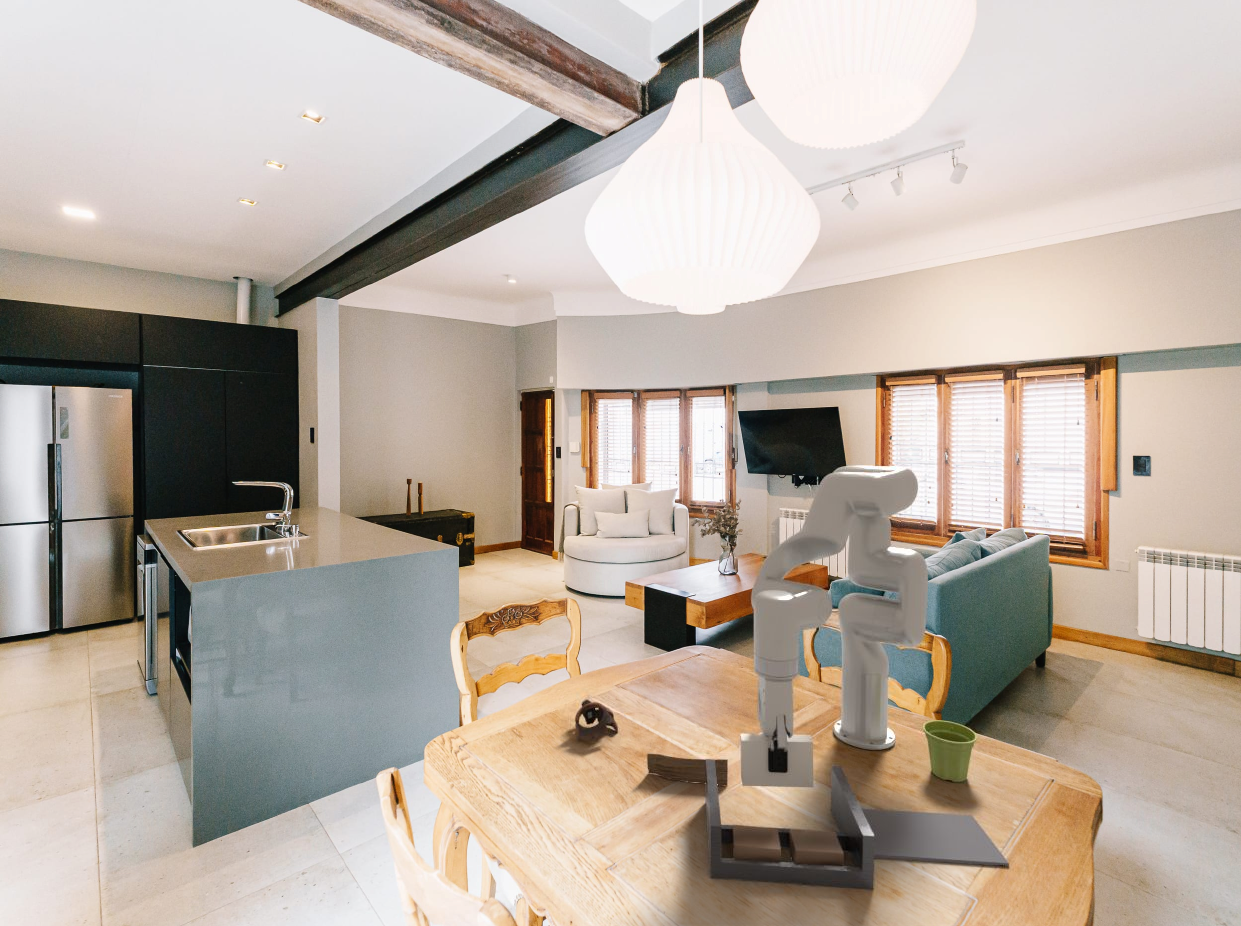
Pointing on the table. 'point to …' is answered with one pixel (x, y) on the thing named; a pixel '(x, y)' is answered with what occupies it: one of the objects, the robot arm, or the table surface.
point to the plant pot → (949, 749)
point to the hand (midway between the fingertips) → (776, 766)
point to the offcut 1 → (756, 843)
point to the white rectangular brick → (757, 762)
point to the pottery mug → (590, 715)
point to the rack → (851, 837)
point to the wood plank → (686, 768)
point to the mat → (931, 837)
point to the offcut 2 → (815, 847)
